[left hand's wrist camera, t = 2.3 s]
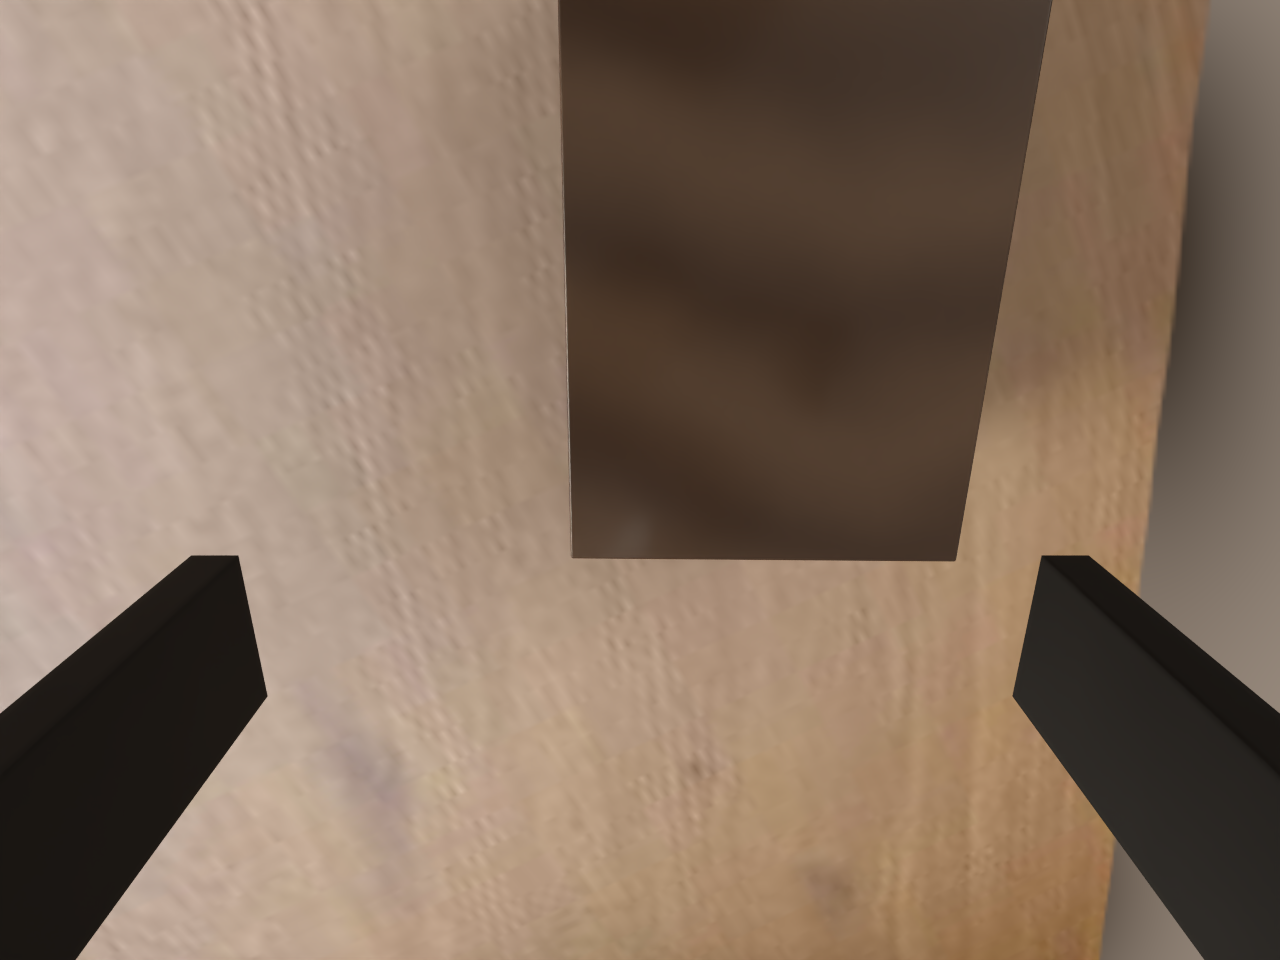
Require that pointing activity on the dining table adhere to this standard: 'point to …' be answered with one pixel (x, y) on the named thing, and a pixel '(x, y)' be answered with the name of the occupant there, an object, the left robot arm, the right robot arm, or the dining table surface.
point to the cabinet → (785, 268)
